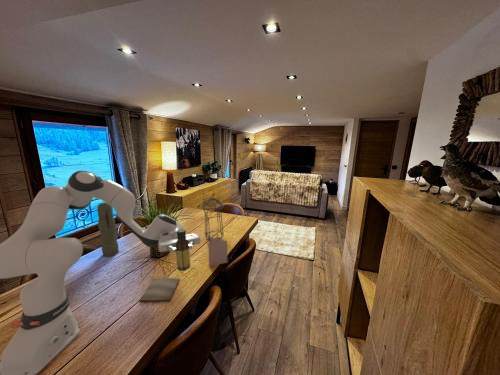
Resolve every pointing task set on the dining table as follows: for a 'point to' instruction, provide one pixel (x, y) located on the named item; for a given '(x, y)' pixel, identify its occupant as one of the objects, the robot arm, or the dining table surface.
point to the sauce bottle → (182, 251)
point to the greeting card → (217, 251)
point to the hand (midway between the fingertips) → (182, 249)
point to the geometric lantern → (212, 217)
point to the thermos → (107, 230)
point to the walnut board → (160, 290)
